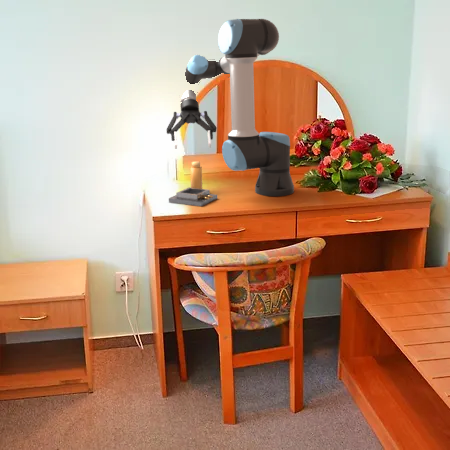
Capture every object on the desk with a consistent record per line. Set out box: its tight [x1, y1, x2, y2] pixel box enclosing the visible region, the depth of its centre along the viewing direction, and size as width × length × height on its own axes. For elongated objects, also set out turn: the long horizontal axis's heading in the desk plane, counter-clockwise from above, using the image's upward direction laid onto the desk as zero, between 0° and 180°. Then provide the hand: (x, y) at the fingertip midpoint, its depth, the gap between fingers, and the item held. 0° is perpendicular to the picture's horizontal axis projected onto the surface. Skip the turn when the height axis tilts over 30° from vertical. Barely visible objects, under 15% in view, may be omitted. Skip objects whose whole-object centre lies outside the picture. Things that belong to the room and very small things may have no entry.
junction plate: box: [168, 187, 218, 207], centre depth 248 cm, size 14×12×4 cm
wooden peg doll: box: [189, 161, 203, 189], centre depth 258 cm, size 4×4×12 cm
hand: (192, 146), depth 265 cm, fingers open, 13 cm apart
